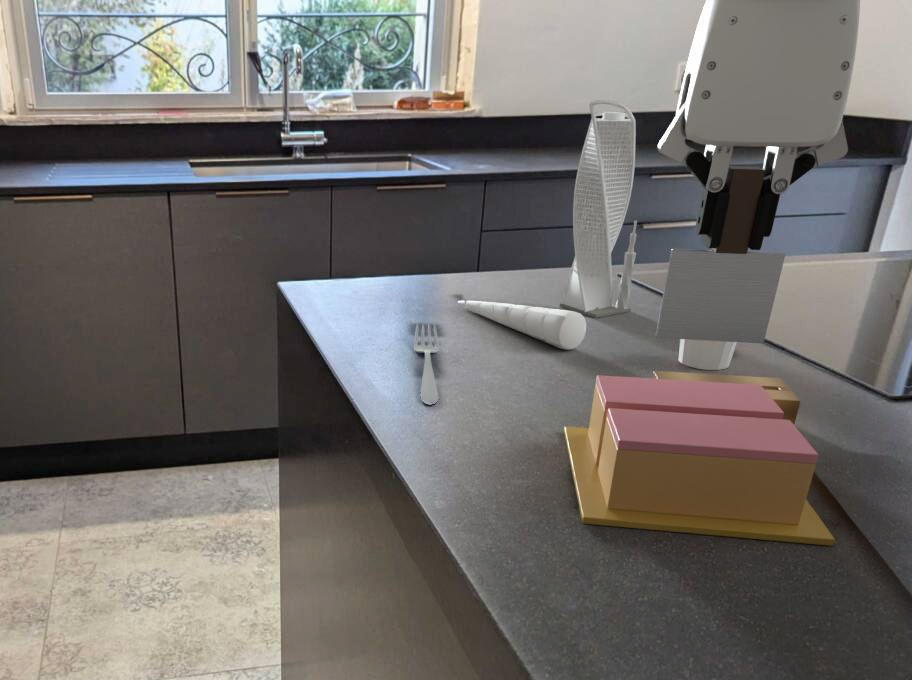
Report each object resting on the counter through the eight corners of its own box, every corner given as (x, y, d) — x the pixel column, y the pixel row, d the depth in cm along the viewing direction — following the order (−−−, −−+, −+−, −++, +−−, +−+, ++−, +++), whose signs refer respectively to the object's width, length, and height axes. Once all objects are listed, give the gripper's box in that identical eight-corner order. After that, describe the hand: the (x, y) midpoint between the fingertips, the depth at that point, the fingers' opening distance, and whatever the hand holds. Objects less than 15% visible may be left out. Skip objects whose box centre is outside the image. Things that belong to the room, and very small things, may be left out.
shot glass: (666, 364, 98) (677, 307, 94) (680, 349, 103) (690, 294, 100) (729, 375, 94) (742, 316, 91) (740, 359, 99) (753, 302, 96)
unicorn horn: (479, 302, 123) (482, 270, 121) (587, 349, 103) (592, 311, 101) (452, 306, 121) (454, 273, 119) (556, 354, 101) (561, 316, 99)
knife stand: (770, 414, 84) (780, 377, 82) (790, 439, 78) (801, 400, 76) (646, 406, 86) (653, 370, 84) (657, 430, 80) (664, 392, 79)
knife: (759, 339, 65) (800, 167, 60) (766, 346, 64) (810, 170, 58) (653, 333, 67) (684, 165, 61) (657, 340, 65) (690, 168, 59)
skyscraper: (588, 319, 115) (619, 101, 103) (546, 305, 121) (571, 99, 109) (630, 311, 118) (665, 99, 106) (588, 298, 125) (617, 97, 113)
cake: (762, 445, 77) (779, 379, 74) (833, 546, 61) (858, 466, 58) (563, 431, 80) (572, 367, 77) (582, 523, 64) (594, 447, 61)
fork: (414, 405, 86) (415, 389, 86) (413, 336, 108) (413, 323, 107) (445, 406, 86) (446, 390, 85) (437, 336, 108) (438, 323, 107)
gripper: (899, -34, 56) (826, 240, 64) (651, -29, 59) (611, 232, 67) (954, -47, 49) (865, 261, 57) (672, -41, 52) (625, 251, 60)
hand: (729, 243), depth 62 cm, fingers closed on knife, 2 cm apart
